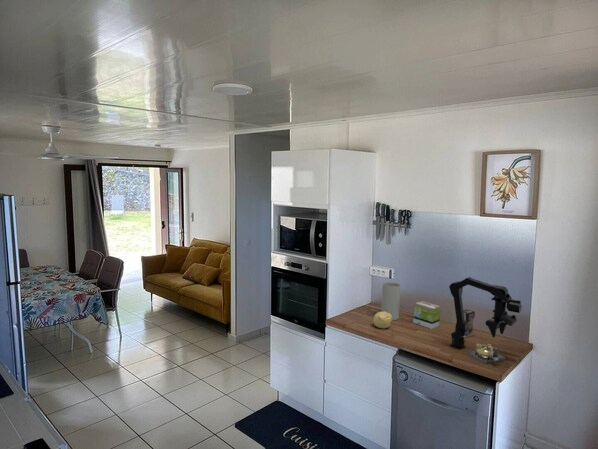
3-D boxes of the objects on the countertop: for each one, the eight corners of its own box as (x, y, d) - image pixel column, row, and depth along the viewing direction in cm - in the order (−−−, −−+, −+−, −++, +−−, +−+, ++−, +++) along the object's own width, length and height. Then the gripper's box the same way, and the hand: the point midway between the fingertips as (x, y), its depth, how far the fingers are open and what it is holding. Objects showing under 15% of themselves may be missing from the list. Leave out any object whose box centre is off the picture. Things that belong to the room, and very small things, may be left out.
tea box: (412, 323, 285) (413, 302, 283) (420, 320, 292) (421, 300, 290) (432, 329, 274) (433, 308, 272) (439, 326, 280) (441, 305, 279)
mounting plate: (466, 354, 234) (467, 352, 233) (484, 350, 240) (485, 348, 240) (486, 364, 222) (486, 361, 222) (504, 359, 229) (504, 356, 228)
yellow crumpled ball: (382, 331, 268) (383, 315, 266) (369, 325, 277) (370, 310, 276) (394, 328, 274) (395, 312, 273) (381, 322, 284) (381, 307, 283)
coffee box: (465, 338, 260) (467, 313, 258) (456, 334, 265) (458, 310, 263) (473, 335, 265) (475, 311, 263) (464, 332, 270) (466, 308, 268)
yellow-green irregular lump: (471, 350, 236) (472, 336, 235) (490, 350, 236) (491, 337, 236) (486, 363, 219) (487, 348, 218) (506, 363, 219) (507, 349, 218)
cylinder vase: (383, 314, 303) (385, 281, 301) (400, 317, 298) (402, 283, 295) (379, 319, 292) (380, 285, 289) (396, 322, 287) (398, 287, 284)
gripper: (506, 315, 216) (504, 344, 218) (522, 310, 227) (520, 336, 229) (486, 310, 225) (484, 337, 227) (502, 304, 236) (500, 330, 238)
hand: (497, 335), depth 230 cm, fingers open, 9 cm apart
